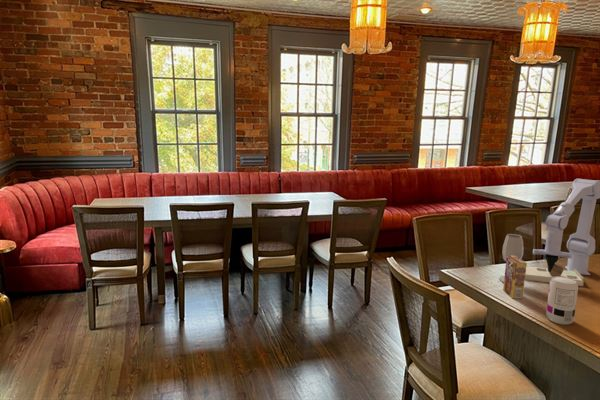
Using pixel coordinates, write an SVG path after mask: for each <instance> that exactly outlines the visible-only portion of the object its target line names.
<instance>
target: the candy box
mask: <svg viewBox="0 0 600 400" xmlns="http://www.w3.org/2000/svg"><path fill="white" fill-rule="evenodd" d="M527 265H528V262H526V261H525V260H524V259H520V258H519V257H517V256H507V259H506V261H505V269H504V276H505V277H504V283H503V288H502V289H503V291H504V292H505V293H506V294H507V295H509V297H511V299H515V300H516V299H517V300H518V299H519V300H520V299H521V300H522V299H523V296H524V289H525V282H526V280H525V274H526V266H527Z"/></svg>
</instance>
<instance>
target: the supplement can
mask: <svg viewBox="0 0 600 400" xmlns="http://www.w3.org/2000/svg"><path fill="white" fill-rule="evenodd" d="M548 286H549V288H548V293H547V294H548V297H547V304H546V311H545V312H546V314H545V315H546V316H545V317H546V318H547V319H548V320H549V321H551V322H552V323H555V324H557V325H565V326H566V325H567V326H569V325H571V324H573V323H574V321H575V316H576V315H575V314H576V306H577V299H578V292H579V286H578V285H577V282H576V281H575V280H573V279H571V278H567V277H561V276H555V277H553V278H552V280H551V281H550V282H549V285H548Z"/></svg>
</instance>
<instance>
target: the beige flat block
mask: <svg viewBox="0 0 600 400" xmlns="http://www.w3.org/2000/svg"><path fill="white" fill-rule="evenodd" d="M553 277H555V276H553V275H550V273H549V272H548V267H546V268H545V267H536V266H526V274H525V281H532V282H534V281H535V282H540V283H541V282H542V283H550V281H551V280H552V278H553ZM561 277H567V278H571V279H573V280H575V281H576V282H577V285H578V287H579V286H580V287H584V280H585V278H584V276H582V274H579V272H578V271H577V270H576V269H574V271H568V270H567V269H564V270H563V272H562V274H561Z"/></svg>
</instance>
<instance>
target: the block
mask: <svg viewBox="0 0 600 400" xmlns="http://www.w3.org/2000/svg"><path fill="white" fill-rule="evenodd" d="M563 270H565V269H564V267H563V265H560V264H558V263H555V264H554V266H553V267H552V270H551V272H549V273H550V275H553V276H561V274H562V272H563Z"/></svg>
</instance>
